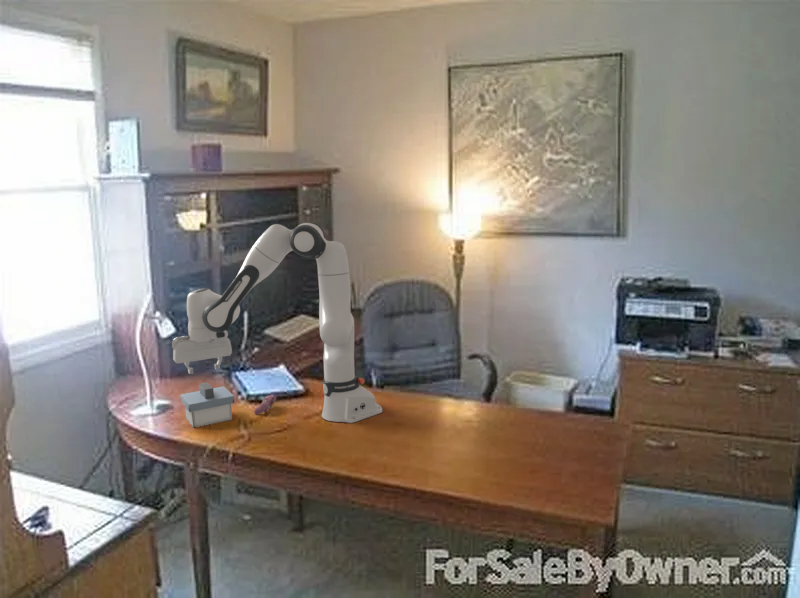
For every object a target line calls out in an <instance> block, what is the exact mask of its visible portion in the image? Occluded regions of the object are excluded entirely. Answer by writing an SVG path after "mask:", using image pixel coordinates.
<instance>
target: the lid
mask: <svg viewBox="0 0 800 598" xmlns="http://www.w3.org/2000/svg"><path fill="white" fill-rule="evenodd" d="M198 384H199V386H198V387H199V390H197V391H191V392H186V393H182V394H180V403H182V405H183V406H184V408H185V407H186V409H187V410H188V411H189V412H193V411H198V410H203V409H207V408H212V407H217V406H222V405H227V404H231V405H233V404H235V395H234V394H232V392H231V391H229V390H228V388H227V387H225V386H224V385H223V386H218V387H213V386H212V385H211V384H210V383H209V382H202V383H201V382H200V383H198Z"/></svg>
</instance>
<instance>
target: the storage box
mask: <svg viewBox="0 0 800 598" xmlns="http://www.w3.org/2000/svg"><path fill="white" fill-rule="evenodd" d="M184 411H185V419H186V420H188V421H189V422H188V421H187V422H188V423H189V425H190V424H191V425H192V426H191V425H190V426H191V427H192V429H195V428H194V427H196V428H199V427H198V426H201V427H205V426H209V424H210V425H215V424H219V423H223V422H228V421H232V420H233V411H232V404H227V405H222V406H217V407H212V408H207V409H203V410H198V411H193V412H189V411H188V410H187V409H186V407H185V406H184ZM214 423H215V424H214ZM204 425H205V426H204Z"/></svg>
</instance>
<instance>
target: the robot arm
mask: <svg viewBox="0 0 800 598" xmlns="http://www.w3.org/2000/svg"><path fill="white" fill-rule="evenodd" d="M292 251H293V252H294V253H295V254H297V255H299V256H301V257H305V258H309V259H313V260H316V265H317V278H318V290H319V291H318V293H319V301H318V303H319V305H318V308H319V310H318V313H319V314H318V316H319V317H318V319H319V320H318V321H319V322H318V323H319V324H318V325H319V335H320V339H321V341H322V342H323V343H324V344H323V357H322V358H323V359H322V361H323V377H324V378H323V380H322V381H323V382H322V386H323V387H322V388H323V389H322V390H323V394H324V399H323V408H322V413H321V418H323V419H324V420H326V421H329V422H335V423H336V422H337V423H338V422H339V423H341V422H342V423H348V424H353V423H356V422H359V421H362V420H364V419H368V418H370V417H373V416H377V415H379V414H382V413H383V407H382V406H381V405H380V404H379V403H377V400H376V397H375V395H374V394H373V393H372V392H371V391H369V390H367V389H366V388H365V387H363V386H362V385H363V384H365V378H362V377H359V376H356V375H355V371H356V370H355V317H354V316H353V314H352V311H351V300H352V294H351V293H352V291H351V279H350V278H351V277H350V263H349V259H348V254H347V250H346V247H345V246H344V244H343V243H342V242H339V241H336V240H327V239H326V238H325V232H324V231H323V229H322V227H321V226H320V225H318V224H316V223H314V222H303V223H301V224H298V225H297V226H294V227H292V228H291V229H289V228H288V227H286V226H285V225H283V224H280V223H279V224H278V223H276V224H275V223H274V224H272V225H270V226H269V227H268V228H267V229H266V230H264V231H263V232H262V234H261V235H260V236H259V237H258V238H257V240H256V241H255V242H254V244H253V245H252V247H251V248H250V249H249V251H248V253H247V255H246V257H244V261H243V263H242V264H241V266H240V269H239V271H238V272H237V275H236V276H235V278H234V279H233V280H232V282H231V283H230V285H229V286H228V287H227V289H226V290H225V291H224V293H223V294H222V295H221V294H218V293H216V292H214V291H212V289H210V288H204V287H203V288H202V287H201V288H198V289H195V290H191V291H190V292H189V293H187V297H186V315H187V318H188V322H187V323H188V324H187V330H188V333H187V334H188V335H183V336H176V337H175V338H173V340H172V341H171V348H172V351H173V352H172V359H173V361H174V362H175V363H176V364H183V365H185V367H186V368H187V372H188V374H194V368H193V367H190V366H189V365H190V362H196V361H204V360H209V359H217V361H216V363H214V364H213V365H214V369H215V370H220V369H221V363H222V361H223V357H229V356H231V354H232V353H233V348H232V344H231V343H232V342H231V340H230V338H229V333H228V331H227V330H228V329H229V328H230V327H231V325H232V324H233V323H234V322H236V320H237V319H238V318H239V316H240V314H241V305H240V304H241V302H242V301H243V300H244V299H245V297H246V296H247V295H248V294H249V292H250V291H251V290H252V289H253V288H254V287H256V285H258V284H259V283H261V282H262V281H263V280H264V279H266V278H267V277H269V276H270V275H271V274H273V272H274V271H275V270H276V269H277V268H278V267H279V266H280V263H282V262H283V260H284V259H285V257H286V256H287V255H288V254H289V253H290V252H292Z"/></svg>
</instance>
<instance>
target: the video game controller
mask: <svg viewBox="0 0 800 598" xmlns="http://www.w3.org/2000/svg"><path fill="white" fill-rule="evenodd" d="M276 401H277V396H276V395H275V394H270V395H266V396H265V397H264V398H263V401H262V402H261V403H260V405H258V406H257V407H256V408H255V409H254V412H253V413H254V415H256V416H257V415H261V414H262V413H265V414H266V413H268V410H270V409H272V407H273V405H274V403H275V402H276Z"/></svg>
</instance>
